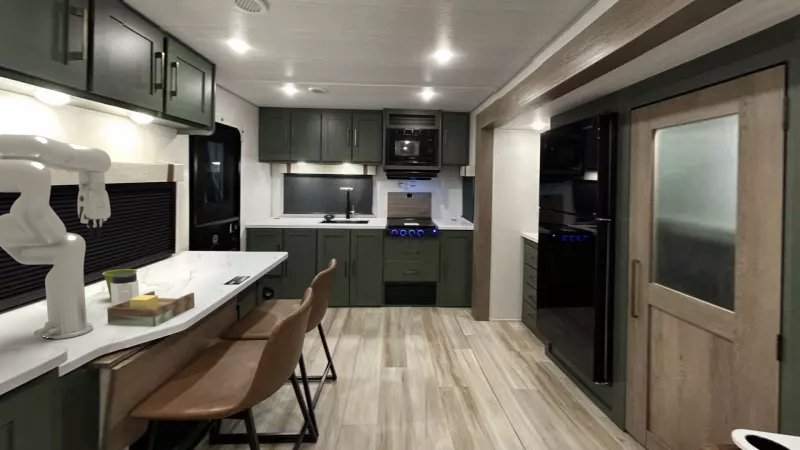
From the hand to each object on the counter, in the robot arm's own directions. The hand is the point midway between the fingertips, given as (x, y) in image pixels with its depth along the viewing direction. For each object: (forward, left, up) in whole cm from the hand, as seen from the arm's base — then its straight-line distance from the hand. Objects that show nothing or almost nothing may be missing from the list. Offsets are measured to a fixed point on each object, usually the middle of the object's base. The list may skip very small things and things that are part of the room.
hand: (95, 238), depth 156 cm
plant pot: (+16, +4, -27) cm, 32 cm away
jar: (+8, -4, -27) cm, 29 cm away
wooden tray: (-2, -23, -27) cm, 35 cm away
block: (-8, -23, -24) cm, 34 cm away
